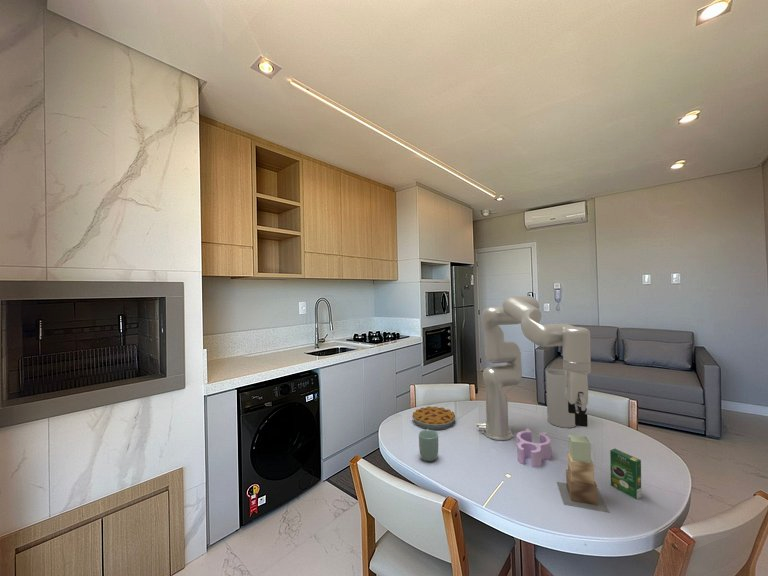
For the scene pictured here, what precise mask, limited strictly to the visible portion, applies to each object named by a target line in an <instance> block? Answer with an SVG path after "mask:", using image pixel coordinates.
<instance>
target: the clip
mask: <svg viewBox="0 0 768 576" xmlns="http://www.w3.org/2000/svg"><path fill="white" fill-rule="evenodd" d="M547 434H548V433H547V432H540V433H539V442H537V443H536V442H532V440H533V439H532V430H530V429H529V428H526V429H525V430H521V431H518V432H517V433H516V453H517V455H516V456H517V461H518V463H519V464H520V465H521V466H522V465H525V458H527V459H528V458H529V459H530V460H531V461H530V463H531V464H530V465H531V467H532V468H534V469H535V468H539V467H541V466H542V461H551V459H552V446H551V445H552V443H551V441H552V440H551V438H550V437H549V436H548V435H547Z"/></svg>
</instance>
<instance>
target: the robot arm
mask: <svg viewBox="0 0 768 576" xmlns="http://www.w3.org/2000/svg"><path fill="white" fill-rule="evenodd" d="M541 320H542V312H541V310H540V303H539V300H538V299H536V298H535V297H533V296H531V295H524V296H523V295H522V296H521V295H520V296H518V295H517V296H515V295H514V296H510V297H507V298H506V299H504V301H503V302H502V305H501V306H499V305H497V306H496V305H495V306H490V307H487V308H485V309H483V311H482V314H481V324H482V328H483V332H484V351H485V358H486V361H487V362H488V363H489V364H490V363H491V364H499V365H491V366H487V367H486V368H484V370H483V371H482V379H483V383H484V389H485V390H484V391H485V408H486V409H485V412H486V414H485V415H486V420H485V422H483V423H482V422H477V423H476V427H477V428H478V429H479V430H483V434H484V436H485V437H487V438H489V439H491V440H496V441H508V440H511V439H512V438H513V432H512V431H511V430H510V429H509V406H508V405H509V404H508V403H509V402H508V401H509V400H508V395H507V394H506V392H505V390H504V389H503V388H504V387H505V388H506V387H511V386H518V385H520V384H521V381H522V378H523V377H522V376H523V374H522V373H523V372H522V352H521V349H520V347H519V345H518V344H517V343H516V342H514V341H505V335H504V331H503V329H502V327H501V326H506V325H507V326H509V325H511V326H513V325H519V324H520V327H521V331H522V334H523V335H524V337H525V338H526V339H528V340H529V341H531V343H532V344H535V345H536V346H538V347H542V348H548V347H549V348H550V347H562V370H565V396H566V398H567V400H568V412H569V413H573V414H575V425H576V426H575V427H582V428H583V427H584V428H588V408H587V406H589V382H588V381H589V379H588V374H590V373H591V371H592V370H591V367H592V366H591V358H592V357H591V332H590V331H591V330H589V328H586V327H584V326H583V327H582V326H575V325H572V324H569V323H550V324H549V323H546V324H541V323H540V322H541ZM503 363H504V365H502V364H503ZM505 363H506V364H505ZM500 364H501V365H500Z"/></svg>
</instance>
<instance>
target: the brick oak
mask: <svg viewBox="0 0 768 576" xmlns="http://www.w3.org/2000/svg"><path fill="white" fill-rule="evenodd" d="M566 455H567V469H568V472H569V474H570V477H571V479H572V481H577V482H583V483H589V484H595V483H596V481H595V464H594V462H593V460H592V459H591V463H586V462H579V461H573V460H572V458H571V456H570V453H569V451H567V453H566ZM594 481H595V482H594Z"/></svg>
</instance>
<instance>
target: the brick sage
mask: <svg viewBox="0 0 768 576" xmlns="http://www.w3.org/2000/svg"><path fill="white" fill-rule="evenodd" d="M591 447H592V446H591V442H590V440H589V439H588V437H587V436H586V435H576V434H568V452H569V453H570V456H571V458H572V460H573V461H579V462H586V463H591V460H592V450H591V449H592V448H591Z"/></svg>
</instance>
